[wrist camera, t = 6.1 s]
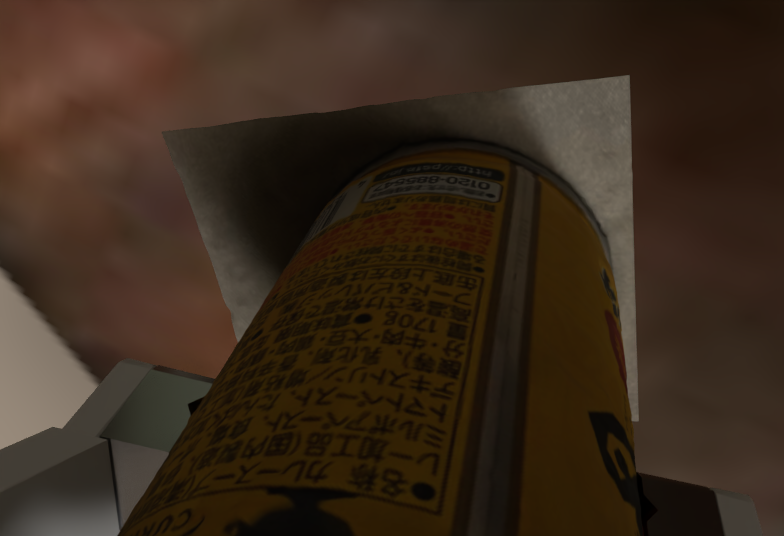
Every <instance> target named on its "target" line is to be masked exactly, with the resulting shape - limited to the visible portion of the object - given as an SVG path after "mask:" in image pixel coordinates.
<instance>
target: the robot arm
mask: <svg viewBox="0 0 784 536" xmlns="http://www.w3.org/2000/svg"><path fill="white" fill-rule="evenodd" d="M214 380H215V379H213V378H209V377H205V376H201V375H197V374H193V373H188V372H184V371H180V370H176V369H172V368H168V367H164V366H160V365H158V366H156V365H153V364H149V363H145V362H141V361H137V360H133V359H129V358H127V359H125V360H123V361H121V362H119V363H118V364H117V365H116V366H115V367H114V368H113V370H112V371H111V372H110V373H109V374H108V375H107V377H106V378H105V379H104V380H103V381H102V383H101V384H100V385H99V386H98V387H97V388H96V390H95V391H94V392H93V393H92V394H91V396H90V397H89V398H88V399H87V400H86V402H85V403H84V404H83V405H82V406H81V407H80V409H79V410H78V411H77V412H76V413H75V414H74V416H73V417H72V418H71V419H70V420H69V422H68V423H67V424H66V425H65V426H64V427H63V429H60V428H55V427H52V428H49V429H47V430H45V431H42V432H40V433H38V434H36V435H33V436H31V437H28V438H26V439H24V440H22V441H19V442H17V443H15V444H12V445H10V446H8V447H5V448H3V449H1V450H0V536H117V535H118V534H119V532H120V531H121V529H122V527H123V526H124V524H125V522H126V521H127V519H128V517H129V515H130V514H131V512H132V510H133V508H134V507H135V505H136V504H137V503H138V501H139V500H140V498H141V497H142V496H143V494H144V493H145V491H146V489H147V488H148V486H149V484H150V483H151V482H152V480H153V479H154V477H155V475H156V473H157V472H158V470H159V469H160V467H161V466H162V464H163V462H164V461H165V459H166V458H167V456H168V455H169V453H170V452H171V450H172V448H173V447H174V445H175V443H176V441H177V440H178V438H179V436H180V434H181V433H182V431H183V430H184V428H185V427H186V426H187V423H188V420H189V417H190V416H191V415H192V414H193V413H194V412H195V411H196V410H197V408H198V406H199V405H200V403H201V401H202V400H203V399H204V396H205V395H206V394H207V393H208V391H209V390H210V388H211V386H212V384H213V382H214ZM636 475H637V487H638V493H639V498H640V505H641V520H642V526H643V531H644V536H763V533H762V530H761V526H760V523H759V519H758V516H757V512H756V509H755V505H754V502H753V500H752V499H751V498H750V497H749V496H748V495H745V494H740V493H735V492H731V491H726V490H721V489H716V488H708V487H705V486H700V485H695V484H691V483H686V482H681V481H677V480H672V479H667V478H663V477H658V476H653V475H648V474H644V473H639V472H636Z"/></svg>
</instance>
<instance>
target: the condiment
mask: <svg viewBox="0 0 784 536" xmlns="http://www.w3.org/2000/svg"><path fill="white" fill-rule="evenodd" d="M162 134H163V137H164V139H165V142H166V144H167V147H168V149H169V152H170V155H171V158H172V161H173V164H174V166H175V168H176V170H177V172H178V173H179V175H180V177H181V179H182V181H183V185H184V188H185V192H186V194H187V197H188V200H189V202H190V204H191V207H192V210H193V213H194V215H195V218H196V221H197V224H198V228H199V231H200V233H201V236H202V239H203V241H204V244H205V246H206V248H207V251H208V253H209V256H210V259H211V261H212V264H213V267H214V271H215V274H216V277H217V280H218V283H219V286H220V289H221V292H222V295H223V298H224V301H225V304H226V306H227V307H228V308H229V309H230V311H231V318H232V323H233V327H234V331H235V335H236V338H237V340H238V344H237V345H236V347H235V349H234V351H233V352H232V354H231V355H230V357H229V359H228V360H227V362H226V364H225V365H224V367H223V369H222V370H221V372H220V373H219V375H218V376H217V377H216V379H215V380H214V382H213V384H212V386H211V388H210V390H209V391H208V393H207V394H206V395H205V396H204V399H203V400H202V401H201V403H200V405H199V406H198V408H197V410H196V411H195V412H194V413H193V414H192V415H191V416H190V417H189V420H188V423H187V426H186V427H185V428H184V430H183V431H182V433H181V434H180V436H179V438H178V440H177V441H176V443H175V445H174V447H173V448H172V450H171V452H170V453H169V455H168V456H167V458H166V459H165V461H164V462H163V464H162V466H161V467H160V469H159V470H158V472H157V473H156V475H155V477H154V479H153V480H152V482H151V483H150V484H149V486H148V488H147V489H146V491H145V493H144V494H143V496H142V497H141V498H140V500H139V501H138V503H137V504H136V505H135V507H134V508H133V510H132V512H131V514H130V515H129V517H128V519H127V521H126V522H125V524H124V526H123V527H122V529H121V531H120V532H119V534H118V535H117V536H644V531H643V526H642V520H641V505H640V498H639V493H638V487H637V475H636V467H635V456H634V441H633V437H634V429H633V425H632V421H639V415H638V378H637V376H638V371H637V347H636V304H635V276H634V233H633V197H632V179H633V174H632V166H631V164H632V151H631V107H630V75H626V76H618V77H610V78H602V79H592V80H582V81H573V82H564V83H555V84H545V85H535V86H525V87H516V88H508V89H501V90H497V91H493V92H473V93H464V94H455V95H446V96H438V97H432V98H428V99H414V100H406V101H400V102H394V103H387V104H381V105H368V106H362V107H357V108H352V109H347V110H341V111H333V112H326V113H308V114H299V115H292V116H283V117H272V118H260V119H254V120H248V121H241V122H235V123H229V124H224V125H218V126H211V127H201V128H190V129H181V130H173V131H164V132H162Z"/></svg>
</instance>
